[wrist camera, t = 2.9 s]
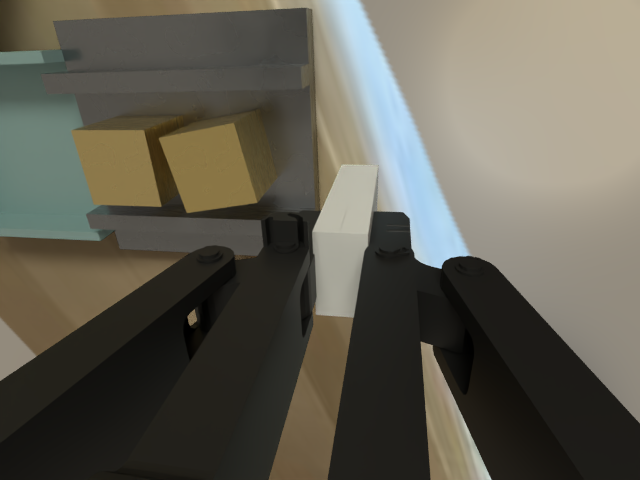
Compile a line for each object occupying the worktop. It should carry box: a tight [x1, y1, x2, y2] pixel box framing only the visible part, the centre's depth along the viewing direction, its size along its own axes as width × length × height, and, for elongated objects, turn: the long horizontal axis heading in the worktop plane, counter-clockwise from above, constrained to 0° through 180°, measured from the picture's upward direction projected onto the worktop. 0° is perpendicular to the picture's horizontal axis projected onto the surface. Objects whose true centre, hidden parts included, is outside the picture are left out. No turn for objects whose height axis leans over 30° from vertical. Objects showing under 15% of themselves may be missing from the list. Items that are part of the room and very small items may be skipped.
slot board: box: [41, 8, 320, 256], centre depth 24 cm, size 14×14×4 cm
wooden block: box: [71, 115, 184, 207], centre depth 23 cm, size 4×4×4 cm
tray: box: [0, 49, 114, 241], centre depth 26 cm, size 11×11×3 cm
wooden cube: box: [159, 109, 277, 213], centre depth 22 cm, size 4×4×4 cm
